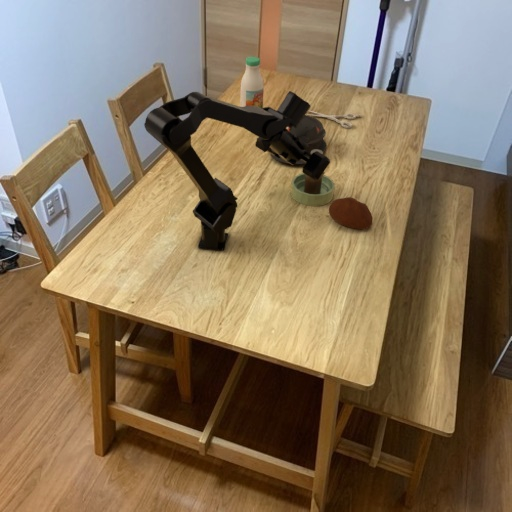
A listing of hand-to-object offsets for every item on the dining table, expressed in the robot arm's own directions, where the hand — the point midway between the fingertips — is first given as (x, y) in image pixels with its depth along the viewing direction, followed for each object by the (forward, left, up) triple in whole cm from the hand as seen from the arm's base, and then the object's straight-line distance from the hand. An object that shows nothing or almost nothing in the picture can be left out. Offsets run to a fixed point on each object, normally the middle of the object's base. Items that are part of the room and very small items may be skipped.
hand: (310, 167), depth 139 cm
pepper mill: (+1, -1, -9) cm, 9 cm away
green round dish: (+1, -1, -10) cm, 10 cm away
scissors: (+51, -5, -10) cm, 52 cm away
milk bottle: (+47, +22, -10) cm, 53 cm away
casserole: (+27, +5, -10) cm, 29 cm away
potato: (-11, -11, -10) cm, 18 cm away
